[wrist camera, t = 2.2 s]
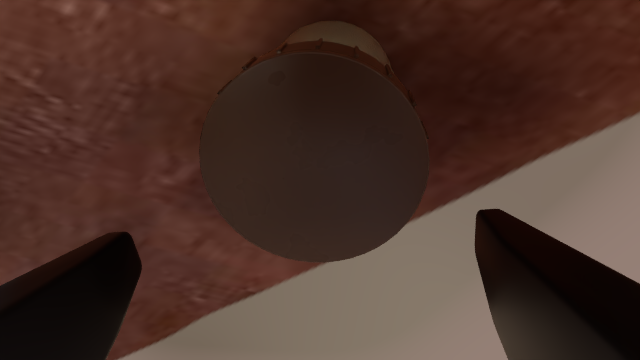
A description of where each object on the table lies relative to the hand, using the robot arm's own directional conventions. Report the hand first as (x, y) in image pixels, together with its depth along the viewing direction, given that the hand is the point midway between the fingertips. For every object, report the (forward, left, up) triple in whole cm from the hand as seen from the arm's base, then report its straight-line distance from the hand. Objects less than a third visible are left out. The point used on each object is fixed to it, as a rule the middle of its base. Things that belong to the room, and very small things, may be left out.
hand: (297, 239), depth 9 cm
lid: (0, 0, -4) cm, 4 cm away
